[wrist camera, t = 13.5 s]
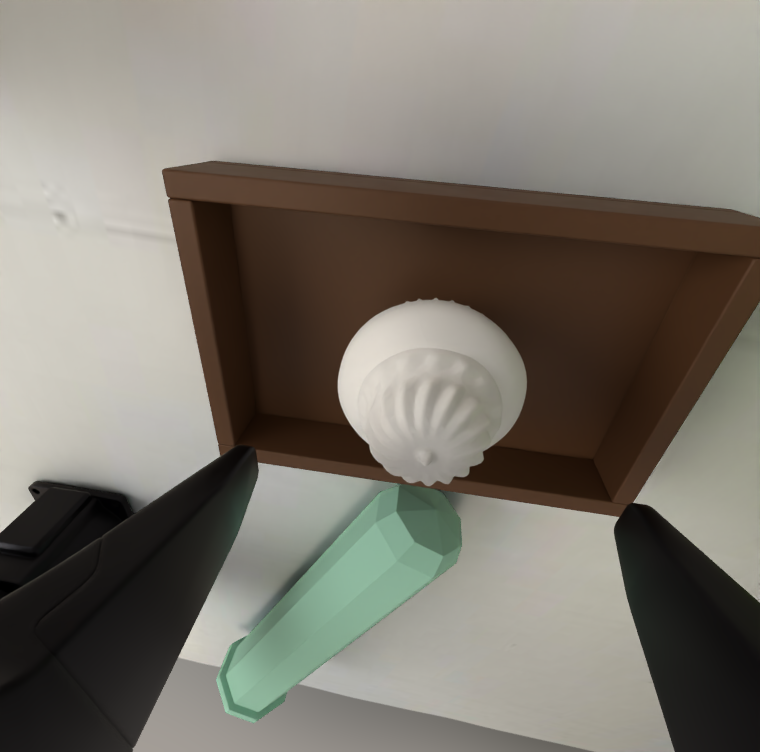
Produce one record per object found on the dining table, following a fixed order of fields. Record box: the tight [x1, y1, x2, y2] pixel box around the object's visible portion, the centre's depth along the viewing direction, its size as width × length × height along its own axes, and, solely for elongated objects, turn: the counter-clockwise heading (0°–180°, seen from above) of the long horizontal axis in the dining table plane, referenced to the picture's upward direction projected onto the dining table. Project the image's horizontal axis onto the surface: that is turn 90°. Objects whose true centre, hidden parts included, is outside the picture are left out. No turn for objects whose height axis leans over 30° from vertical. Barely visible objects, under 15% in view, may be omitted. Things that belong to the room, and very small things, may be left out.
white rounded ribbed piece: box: [338, 298, 527, 486], centre depth 13 cm, size 6×6×7 cm
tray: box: [162, 161, 760, 517], centre depth 15 cm, size 12×18×3 cm, turn 86°
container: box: [216, 484, 462, 723], centre depth 25 cm, size 6×6×25 cm
